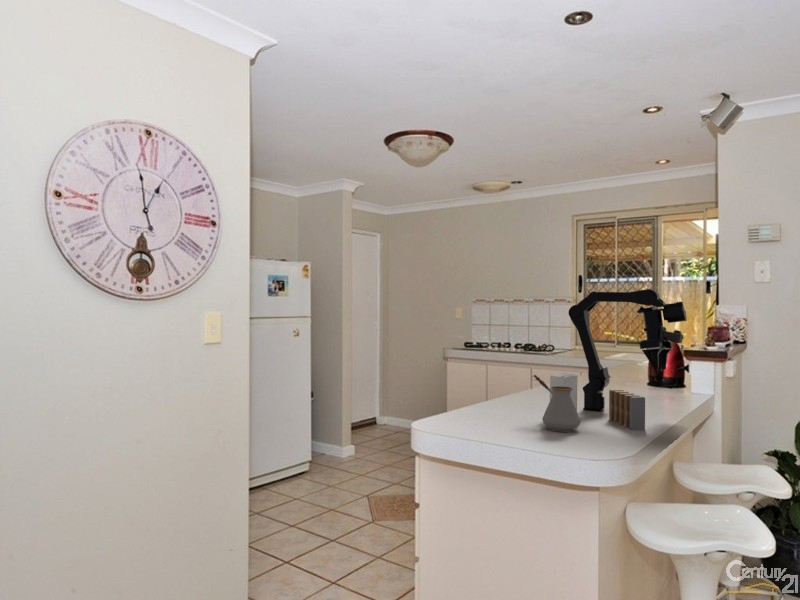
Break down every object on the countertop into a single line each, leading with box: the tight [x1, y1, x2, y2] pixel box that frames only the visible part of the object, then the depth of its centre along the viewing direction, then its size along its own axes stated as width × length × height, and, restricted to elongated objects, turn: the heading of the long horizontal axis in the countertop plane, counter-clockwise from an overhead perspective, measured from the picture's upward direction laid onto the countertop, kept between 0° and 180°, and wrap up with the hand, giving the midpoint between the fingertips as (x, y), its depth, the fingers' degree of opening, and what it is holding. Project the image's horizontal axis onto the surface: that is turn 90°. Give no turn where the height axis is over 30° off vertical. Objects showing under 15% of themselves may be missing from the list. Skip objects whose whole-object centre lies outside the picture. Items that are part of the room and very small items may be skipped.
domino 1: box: [608, 389, 625, 421], centre depth 182 cm, size 2×4×10 cm, turn 95°
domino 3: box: [618, 392, 635, 426], centre depth 176 cm, size 2×4×10 cm, turn 95°
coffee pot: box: [531, 374, 582, 433], centre depth 172 cm, size 21×12×15 cm, turn 19°
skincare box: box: [549, 372, 579, 411], centre depth 184 cm, size 8×6×15 cm
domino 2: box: [613, 390, 630, 423], centre depth 179 cm, size 2×4×10 cm, turn 95°
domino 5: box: [628, 396, 646, 431], centre depth 169 cm, size 2×4×10 cm, turn 95°
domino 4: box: [623, 394, 641, 428], centre depth 172 cm, size 2×4×10 cm, turn 95°
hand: (660, 369), depth 186 cm, fingers open, 9 cm apart
